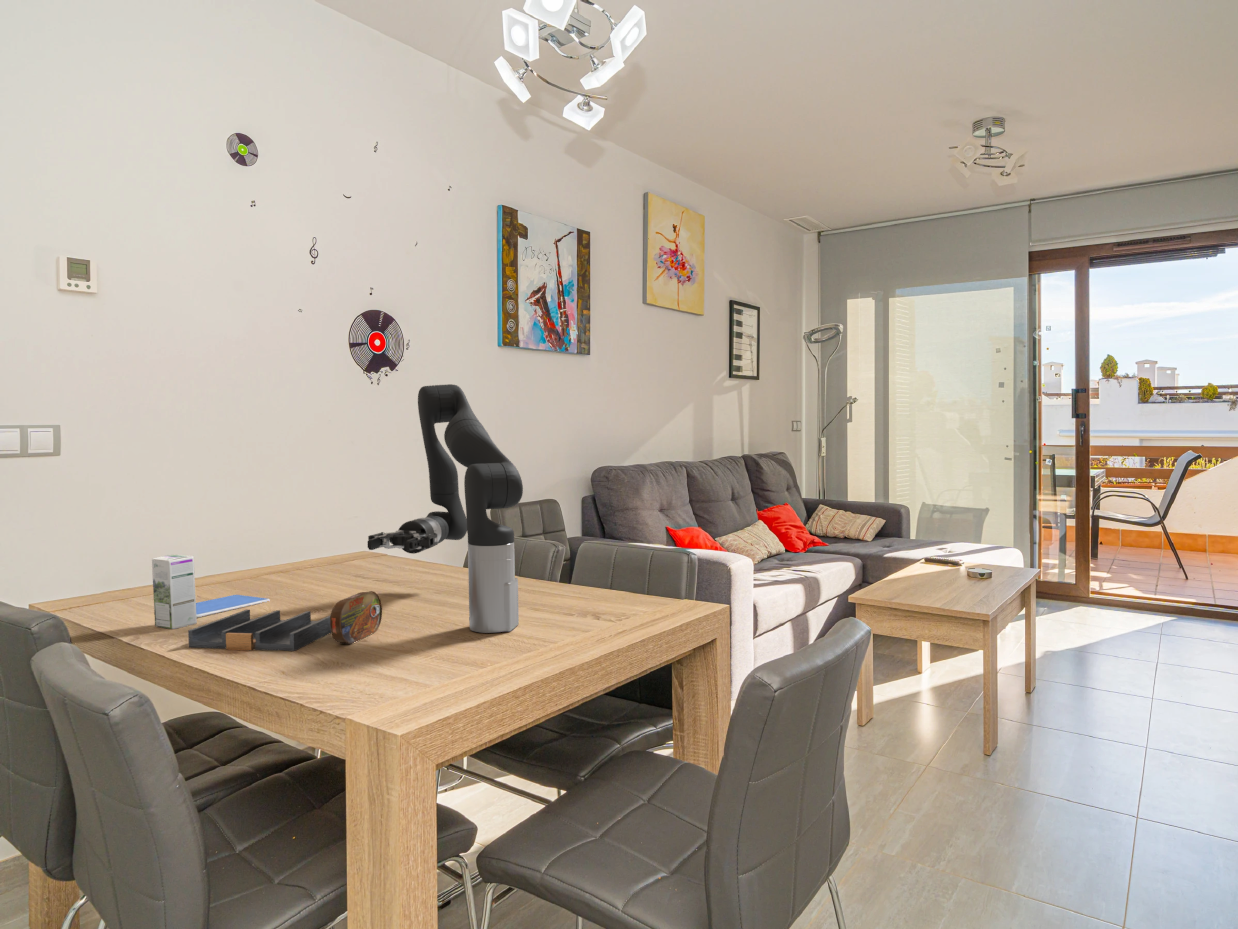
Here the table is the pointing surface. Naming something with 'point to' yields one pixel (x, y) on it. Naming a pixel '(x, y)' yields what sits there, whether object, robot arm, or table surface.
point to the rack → (259, 632)
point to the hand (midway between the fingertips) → (388, 545)
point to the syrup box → (174, 591)
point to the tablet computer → (226, 604)
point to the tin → (356, 617)
